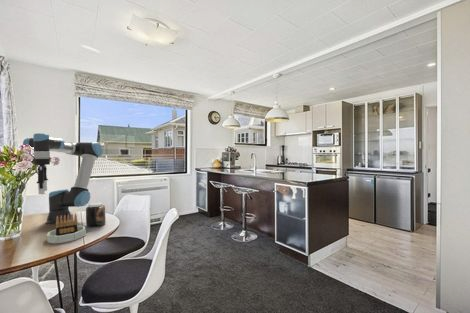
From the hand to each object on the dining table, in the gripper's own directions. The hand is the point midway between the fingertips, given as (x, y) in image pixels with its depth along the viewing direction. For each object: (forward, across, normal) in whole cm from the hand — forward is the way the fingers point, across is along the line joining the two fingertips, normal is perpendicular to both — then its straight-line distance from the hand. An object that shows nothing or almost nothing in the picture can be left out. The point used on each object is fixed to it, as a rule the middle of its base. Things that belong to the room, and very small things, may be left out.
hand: (43, 192), depth 141 cm
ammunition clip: (+25, +14, +12) cm, 31 cm away
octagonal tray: (+27, +14, +12) cm, 32 cm away
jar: (+27, -3, +28) cm, 39 cm away
